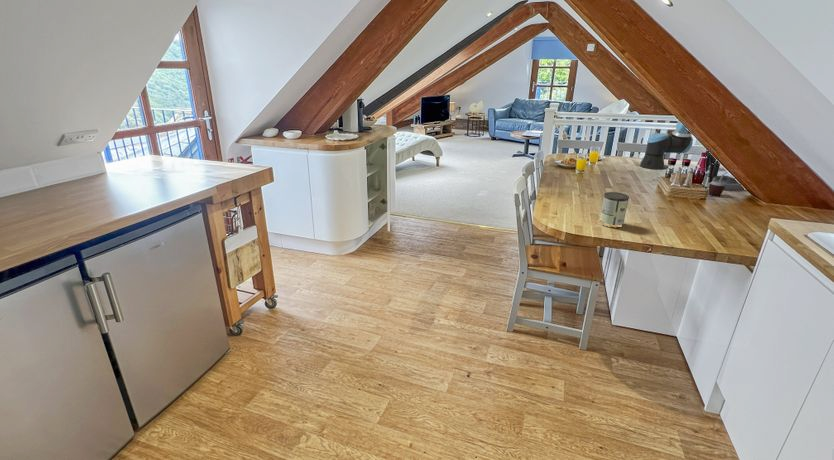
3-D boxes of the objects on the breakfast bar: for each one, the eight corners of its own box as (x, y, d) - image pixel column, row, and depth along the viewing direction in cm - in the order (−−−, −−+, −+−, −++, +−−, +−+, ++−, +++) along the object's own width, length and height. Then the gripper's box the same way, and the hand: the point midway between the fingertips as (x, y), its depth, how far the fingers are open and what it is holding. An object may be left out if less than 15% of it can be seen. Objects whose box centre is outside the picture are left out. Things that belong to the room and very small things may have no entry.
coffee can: (604, 218, 198) (609, 190, 192) (626, 224, 191) (632, 195, 185) (595, 224, 191) (600, 195, 185) (617, 230, 184) (623, 200, 179)
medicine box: (708, 185, 251) (712, 171, 247) (713, 187, 246) (717, 173, 243) (695, 185, 251) (699, 171, 248) (699, 187, 247) (703, 173, 244)
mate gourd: (710, 192, 237) (717, 167, 231) (725, 196, 231) (733, 170, 225) (703, 194, 233) (711, 169, 228) (719, 198, 227) (727, 172, 221)
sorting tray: (702, 181, 260) (703, 175, 259) (725, 181, 260) (727, 175, 259) (724, 190, 242) (726, 184, 240) (749, 190, 242) (751, 184, 241)
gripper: (698, 144, 248) (688, 181, 257) (719, 150, 232) (708, 190, 240) (711, 144, 248) (700, 181, 257) (732, 150, 232) (720, 190, 241)
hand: (704, 185), depth 249 cm, fingers closed on medicine box, 5 cm apart
